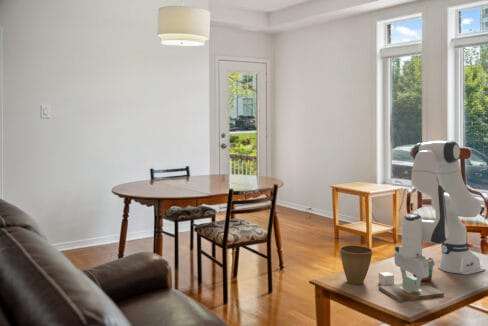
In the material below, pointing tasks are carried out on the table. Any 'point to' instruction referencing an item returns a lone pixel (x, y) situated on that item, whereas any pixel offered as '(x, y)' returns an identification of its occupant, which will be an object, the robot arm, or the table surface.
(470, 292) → the table surface
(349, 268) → the plant pot
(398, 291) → the board
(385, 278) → the cream block
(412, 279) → the sage green block
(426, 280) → the food container
